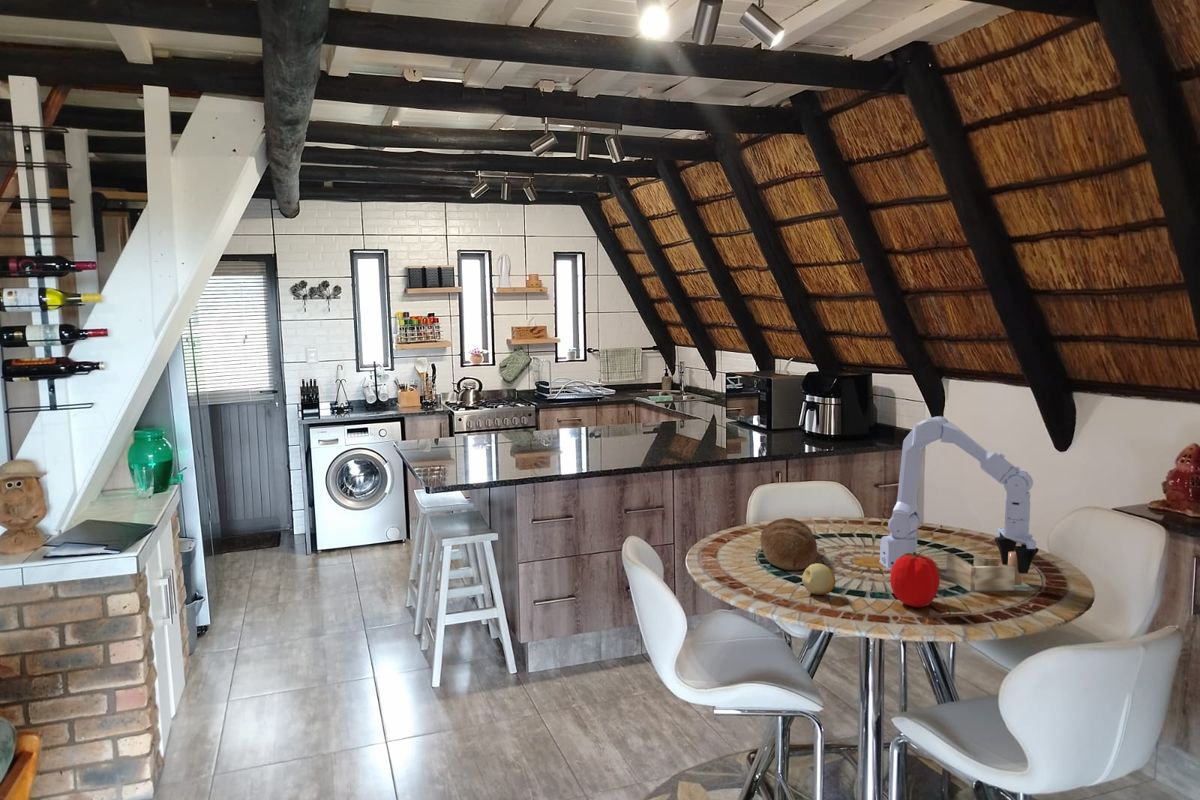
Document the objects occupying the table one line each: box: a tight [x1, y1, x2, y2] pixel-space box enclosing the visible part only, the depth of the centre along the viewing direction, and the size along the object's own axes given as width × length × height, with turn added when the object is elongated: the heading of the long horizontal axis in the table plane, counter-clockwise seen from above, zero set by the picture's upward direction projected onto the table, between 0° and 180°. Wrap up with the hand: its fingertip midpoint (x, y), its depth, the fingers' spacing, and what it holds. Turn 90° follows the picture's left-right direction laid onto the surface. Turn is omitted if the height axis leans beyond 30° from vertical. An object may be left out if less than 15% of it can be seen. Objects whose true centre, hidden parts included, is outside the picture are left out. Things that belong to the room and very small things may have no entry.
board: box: [939, 572, 1037, 593], centre depth 219 cm, size 18×16×1 cm
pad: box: [1014, 581, 1030, 587], centre depth 217 cm, size 5×5×1 cm
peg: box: [1007, 550, 1023, 585], centre depth 216 cm, size 4×4×8 cm
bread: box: [759, 517, 818, 571], centre depth 243 cm, size 16×29×11 cm, turn 174°
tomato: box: [889, 550, 941, 608], centre depth 201 cm, size 12×12×13 cm
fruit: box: [801, 562, 836, 596], centre depth 209 cm, size 8×8×8 cm
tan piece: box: [945, 553, 1015, 591], centre depth 218 cm, size 12×13×6 cm
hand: (1014, 568), depth 216 cm, fingers open, 7 cm apart
